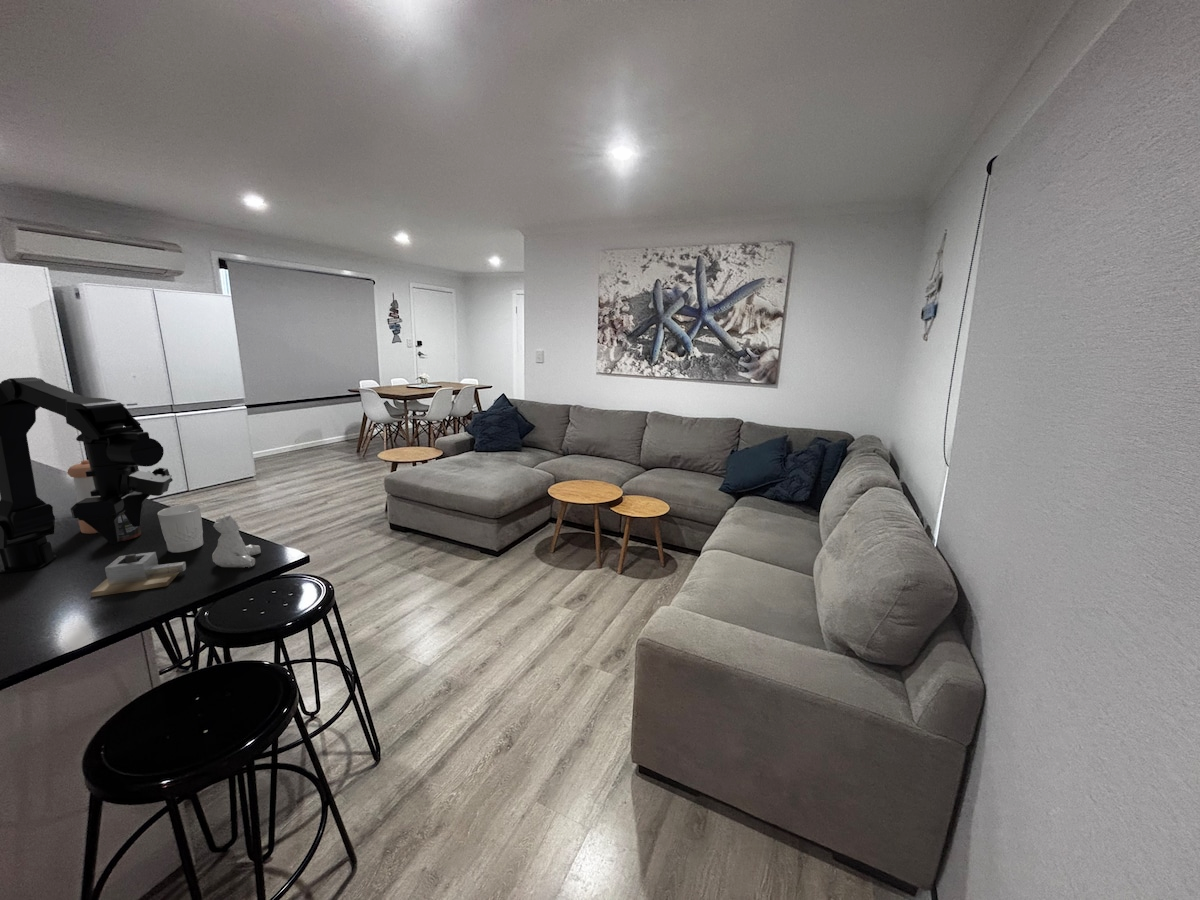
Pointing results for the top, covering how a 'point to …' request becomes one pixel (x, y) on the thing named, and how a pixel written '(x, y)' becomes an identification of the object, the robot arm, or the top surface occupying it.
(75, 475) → the pepper shaker
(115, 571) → the white handled block
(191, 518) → the white cup
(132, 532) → the supplement bottle
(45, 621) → the top surface
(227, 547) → the sitting furry creature
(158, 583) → the board
